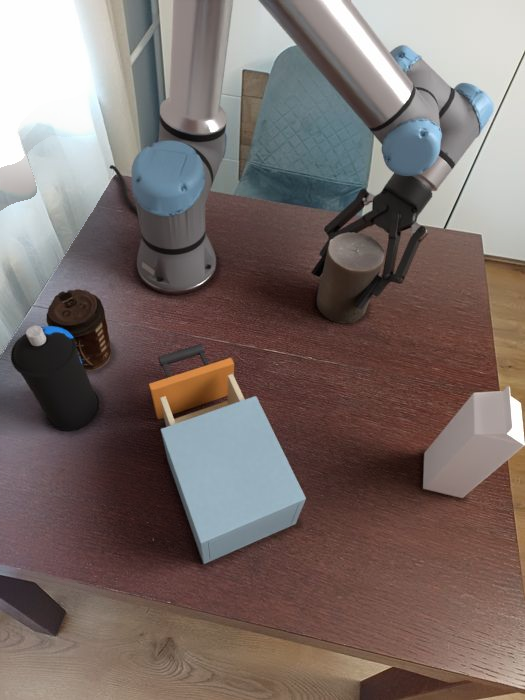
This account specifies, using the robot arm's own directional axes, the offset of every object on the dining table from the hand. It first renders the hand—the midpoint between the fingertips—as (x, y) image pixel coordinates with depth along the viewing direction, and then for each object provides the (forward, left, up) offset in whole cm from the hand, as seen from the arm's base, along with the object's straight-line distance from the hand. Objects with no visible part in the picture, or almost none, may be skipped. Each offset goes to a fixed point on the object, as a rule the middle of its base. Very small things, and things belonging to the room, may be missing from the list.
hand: (336, 290), depth 88 cm
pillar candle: (-1, +3, -6) cm, 7 cm away
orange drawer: (+14, -30, -5) cm, 33 cm away
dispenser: (+25, -30, -6) cm, 40 cm away
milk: (+35, +1, -6) cm, 35 cm away
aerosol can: (+3, -48, -6) cm, 49 cm away
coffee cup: (-6, -43, -6) cm, 44 cm away
